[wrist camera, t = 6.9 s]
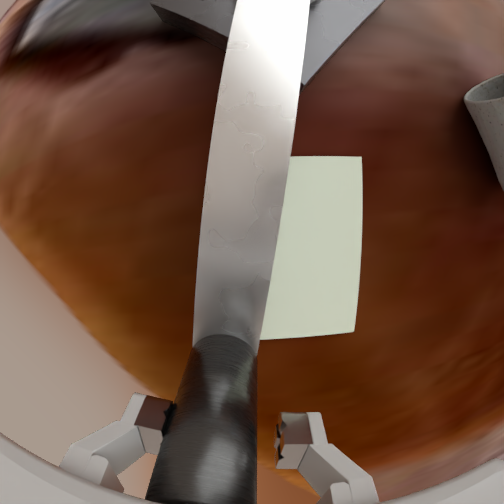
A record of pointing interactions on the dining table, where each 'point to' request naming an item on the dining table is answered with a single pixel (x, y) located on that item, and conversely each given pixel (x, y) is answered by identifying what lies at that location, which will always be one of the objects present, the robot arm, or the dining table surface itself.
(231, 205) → the lever arm
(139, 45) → the dining table surface
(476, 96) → the ceramic mug
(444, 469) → the dining table surface
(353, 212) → the mat
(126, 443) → the robot arm
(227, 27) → the lever base
